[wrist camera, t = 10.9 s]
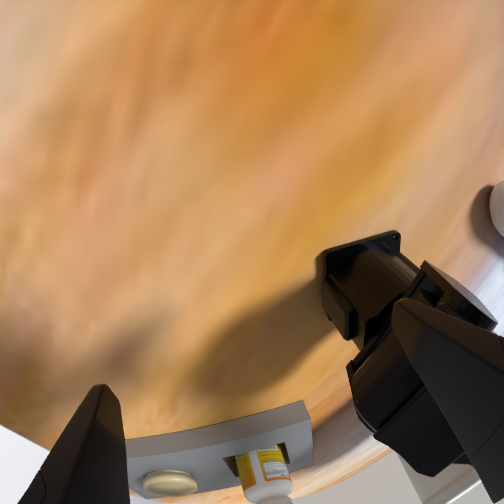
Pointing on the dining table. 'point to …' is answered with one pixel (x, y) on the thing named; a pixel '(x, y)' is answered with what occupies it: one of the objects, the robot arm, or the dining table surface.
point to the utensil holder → (443, 483)
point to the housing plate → (216, 452)
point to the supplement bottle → (265, 476)
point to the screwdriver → (497, 207)
